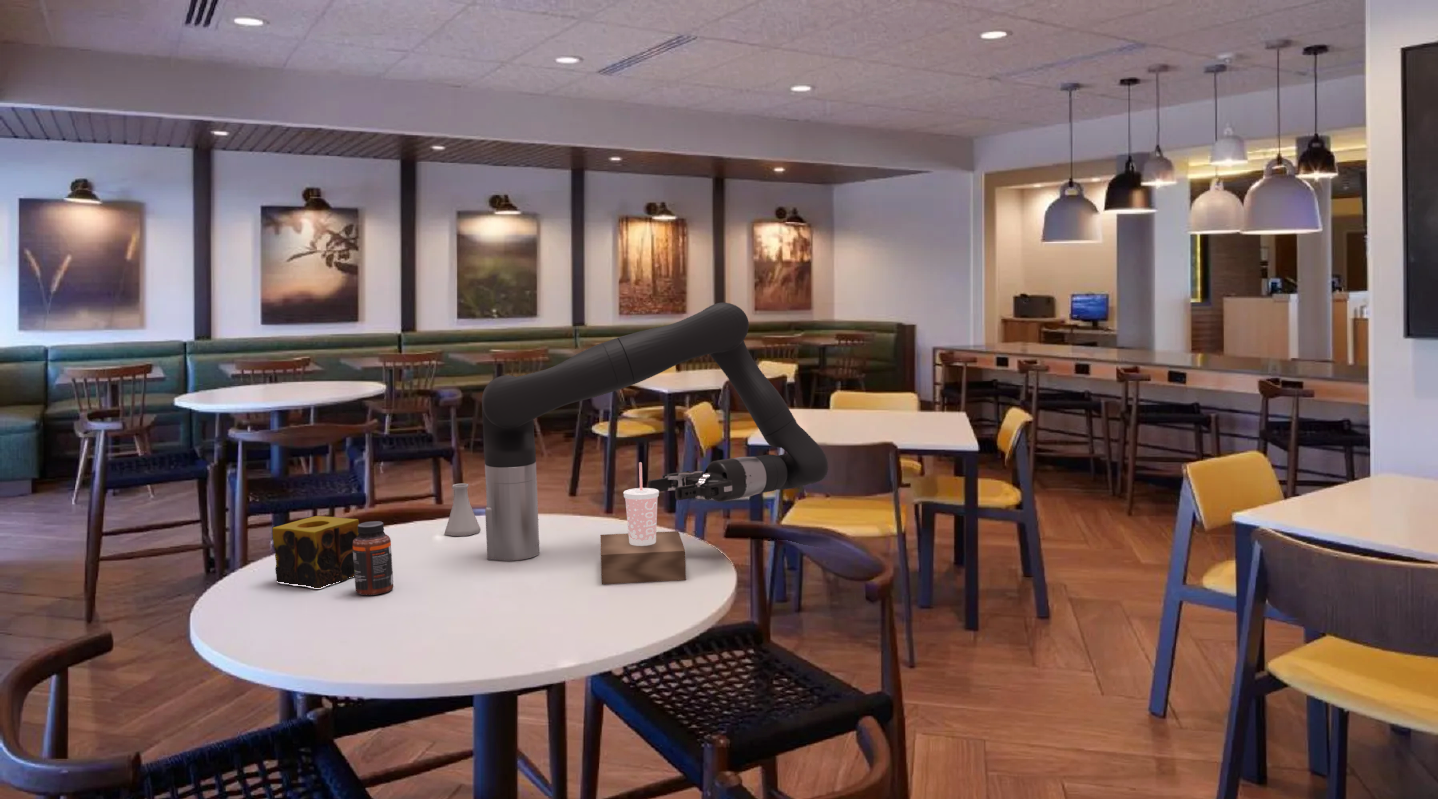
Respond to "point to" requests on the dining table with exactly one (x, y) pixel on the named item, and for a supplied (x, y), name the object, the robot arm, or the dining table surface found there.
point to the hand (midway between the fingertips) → (662, 490)
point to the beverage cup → (641, 513)
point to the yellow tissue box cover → (315, 550)
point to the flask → (461, 514)
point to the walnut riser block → (642, 559)
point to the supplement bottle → (372, 559)
